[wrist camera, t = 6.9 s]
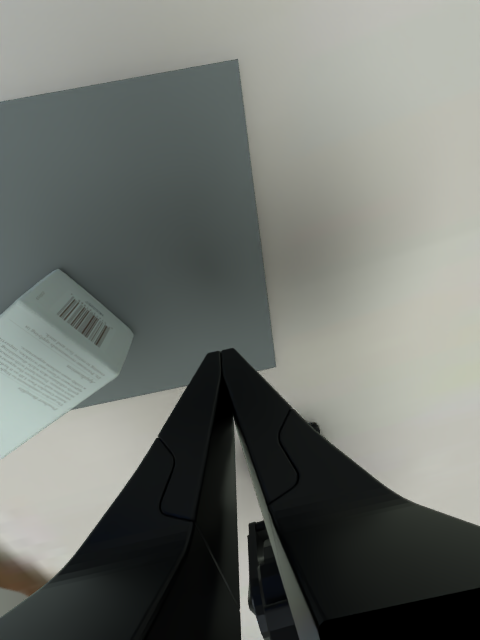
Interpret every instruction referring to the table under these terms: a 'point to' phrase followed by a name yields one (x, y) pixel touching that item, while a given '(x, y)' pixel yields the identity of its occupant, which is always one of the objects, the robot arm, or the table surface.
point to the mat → (141, 216)
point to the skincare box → (54, 355)
